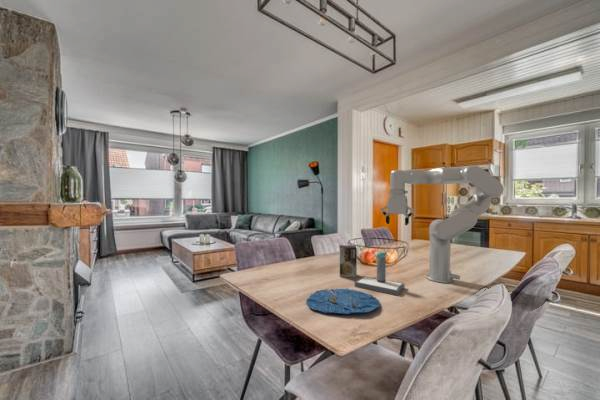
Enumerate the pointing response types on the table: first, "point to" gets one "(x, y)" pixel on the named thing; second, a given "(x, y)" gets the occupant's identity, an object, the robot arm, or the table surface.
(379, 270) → the marker
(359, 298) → the decorative plate
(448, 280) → the robot arm
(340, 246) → the coffee box
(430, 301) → the table surface
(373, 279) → the drawing board
